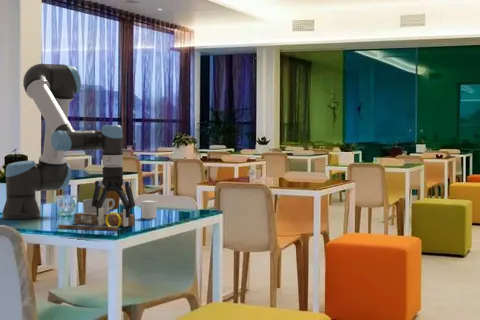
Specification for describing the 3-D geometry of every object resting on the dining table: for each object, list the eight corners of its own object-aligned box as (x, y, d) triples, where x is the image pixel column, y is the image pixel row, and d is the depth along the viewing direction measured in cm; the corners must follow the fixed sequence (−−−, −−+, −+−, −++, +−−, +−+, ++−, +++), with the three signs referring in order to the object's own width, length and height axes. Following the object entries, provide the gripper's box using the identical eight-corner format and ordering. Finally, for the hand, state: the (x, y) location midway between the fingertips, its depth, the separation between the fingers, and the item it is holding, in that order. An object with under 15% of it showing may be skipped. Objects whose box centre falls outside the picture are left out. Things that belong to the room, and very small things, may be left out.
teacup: (86, 220, 288) (86, 200, 287) (79, 217, 297) (79, 198, 297) (120, 218, 294) (119, 198, 294) (112, 215, 304) (111, 196, 303)
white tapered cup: (154, 219, 291) (154, 202, 291) (138, 218, 292) (138, 201, 292) (159, 216, 298) (159, 200, 297) (144, 216, 299) (143, 199, 299)
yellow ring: (121, 228, 268) (122, 212, 268) (118, 229, 265) (119, 213, 265) (107, 226, 270) (108, 210, 269) (104, 227, 267) (105, 211, 267)
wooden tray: (58, 228, 266) (58, 216, 266) (78, 222, 281) (78, 211, 280) (117, 230, 260) (117, 218, 259) (134, 225, 274) (134, 213, 274)
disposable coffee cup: (119, 209, 323) (119, 183, 323) (99, 209, 324) (98, 183, 323) (123, 207, 333) (123, 181, 332) (103, 207, 333) (103, 181, 332)
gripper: (81, 166, 266) (82, 226, 267) (135, 167, 260) (136, 228, 261) (90, 165, 273) (91, 223, 274) (144, 166, 267) (144, 225, 268)
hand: (113, 225), depth 268 cm, fingers open, 9 cm apart
